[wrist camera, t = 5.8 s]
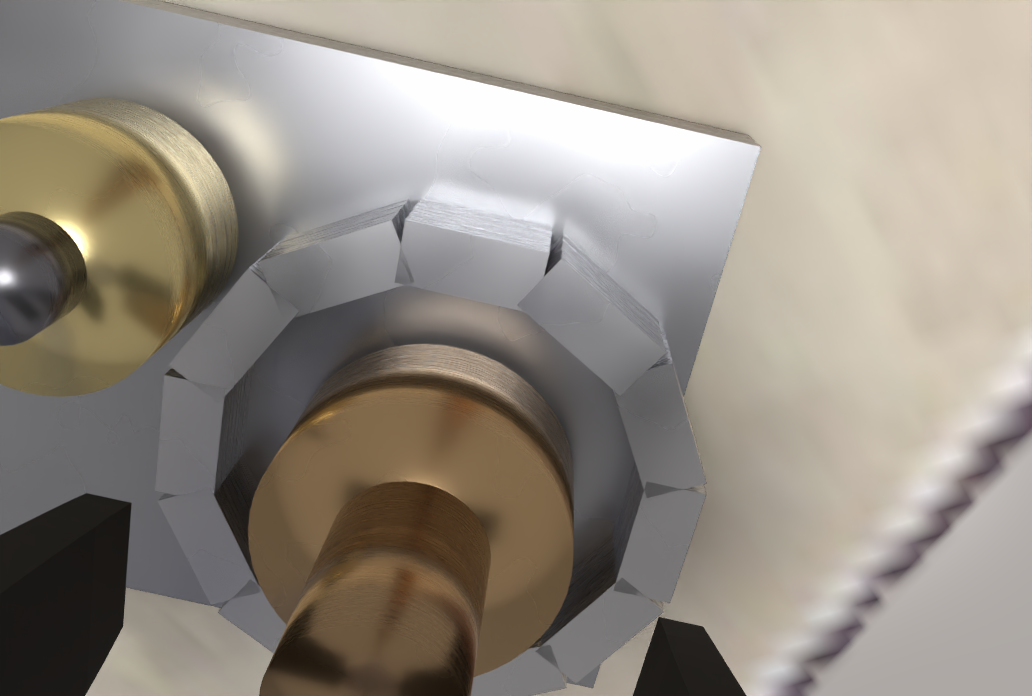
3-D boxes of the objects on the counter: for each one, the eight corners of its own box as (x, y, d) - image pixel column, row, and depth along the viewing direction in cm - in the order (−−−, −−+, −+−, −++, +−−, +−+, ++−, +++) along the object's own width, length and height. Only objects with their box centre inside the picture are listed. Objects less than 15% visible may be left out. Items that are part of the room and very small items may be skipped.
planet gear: (532, 621, 18) (513, 903, 13) (272, 555, 18) (136, 813, 13) (609, 386, 16) (624, 598, 11) (318, 310, 16) (182, 486, 11)
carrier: (615, 653, 20) (626, 858, 15) (-13, 517, 20) (-197, 683, 15) (776, 141, 16) (859, 208, 11) (-13, -39, 16) (-264, -47, 11)
